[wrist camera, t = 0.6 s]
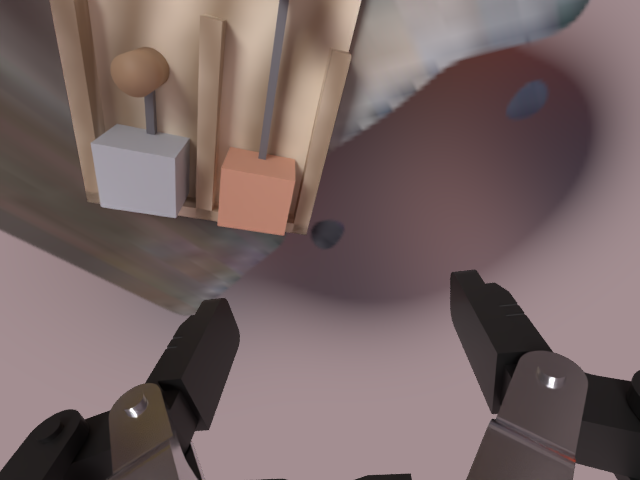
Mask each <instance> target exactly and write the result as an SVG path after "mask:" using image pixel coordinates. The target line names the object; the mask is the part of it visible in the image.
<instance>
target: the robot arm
mask: <svg viewBox="0 0 640 480" xmlns="http://www.w3.org/2000/svg"><path fill="white" fill-rule="evenodd" d="M450 289H451V290H450V292H451V293H450V294H451V295H450V307H451V308H450V309H451V317H452V321H453V324H454V327H455V329H456V332H457V334H458V336H459V339H460V341H461V343H462V346H463V348H464V350H465V353H466V355H467V357H468V360H469V362H470V364H471V367H472V369H473V371H474V374H475V376H476V378H477V381H478V383H479V385H480V388H481V390H482V392H483V395H484V397H485V399H486V402H487V404H488V406H489V408H490V411H491V413H492V414H498V415H497V417H496V419H495V420H494V419H492V420H491V421H490V423H489V425H488V427H487V430H486V432H485V435H484V437H483V439H482V442H481V444H480V447H479V450H478V452H477V454H476V457H475V459H474V462H473V464H472V467H471V469H470V472H469V475H468V477H467V479H466V480H573V474H574V469H575V463H578V464H582V465H585V466H589V467H593V468H597V469H600V470H604V471H608V472H612V473H614V474H615V476H616V478H617V479H618V480H640V370H639V371H638V372H636V373H635V374H634V376H633V378H632V381H625V380H619V379H614V378H608V377H602V376H596V375H591V374H588V373H585V372H583V370H582V369H581V368H580V367H579V366H578V365H577V364H576V363H574V362H573V361H571V360H570V359H568V358H566V357H564V356H562V355H560V354H557V353H553V351H552V350H551V349H550V347H549V346H548V345H547V343H546V342H545V340H544V339H543V338H542V336H541V335H540V334H539V332H538V331H537V329H536V328H535V327H534V326H533V324H532V323H531V321H530V320H529V318H528V317H527V316H526V315H525V314H524V312H523V310H522V309H521V308H520V306H519V305H517V302H516V301H515V299H514V298H513V297H512V295H511V294H510V293H509V291H507V290H505V289H504V288H502V287H501V286H499V285H498V284H496V283H488V284H485V283H484V281H483V280H482V278H481V277H480V275H479V274H478V272H477V271H476V270H467V271H458V272H452V273H451V278H450ZM239 342H240V334H239V329H238V327H237V324H236V321H235V319H234V316H233V313H232V311H231V308H230V306H229V303H228V301H227V300H226V299H225V298H219V299H211V300H204V301H203V302H202V303H201V305H200V307H199V308H198V310H197V312H196V314H195V315H191V316H190V317H189V318H188V319H187V320H186V321H185V322H183V323H182V324H181V325H180V327H179V328H178V330H177V331H176V333H175V335H174V336H173V339H172V340H171V341H170V343H169V345H168V346H167V349H166V350H165V352H164V353H163V355H162V356H161V358H160V360H159V361H158V363H157V364H156V366H155V368H154V369H153V371H152V373H151V374H150V376H149V378H148V379H147V381H146V383H145V384H141V385H138V386H136V387H134V388H132V389H130V390H129V391H127V392H126V393H125V394H123V395H122V396H121V397H120V398H119V399H118V400H117V401H116V403H115V404H114V405H113V407H112V409H111V410H110V411H107V412H105V413H102V414H99V415H96V416H93V417H91V418H88V419H85V420H84V418H83V417H82V416H81V415H80V413H79V412H78V411H76V410H64V411H61V412H59V413H56V414H54V415H53V416H51V417H50V418H48V419H46V420H45V421H43V422H42V423H41V424H40V425H38V426H37V427H36V428H35V429H34V430H33V431H32V432H31V433H30V434H29V436H28V437H27V438H26V439H25V441H24V442H23V443H22V445H21V446H20V447H19V448H18V450H17V451H16V452H15V453H14V455H13V456H12V457H11V459H10V460H9V461H8V462H7V464H6V465H5V466H4V467H3V469H2V470H1V472H0V480H205V478H204V475H203V472H202V469H201V466H200V463H199V460H198V457H197V454H196V451H195V448H194V445H193V443H192V441H191V439H192V437H193V434H194V432H195V431H200V430H201V431H202V430H209V428H210V425H211V423H212V420H213V416H214V414H215V411H216V409H217V406H218V403H219V400H220V397H221V394H222V392H223V389H224V386H225V383H226V380H227V378H228V375H229V372H230V369H231V366H232V363H233V361H234V357H235V355H236V352H237V350H238V347H239ZM263 480H286V479H263ZM356 480H412V479H411V474H390V475H367V476H364V477H362V478H358V479H356Z"/></svg>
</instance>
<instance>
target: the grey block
mask: <svg viewBox="0 0 640 480" xmlns="http://www.w3.org/2000/svg"><path fill="white" fill-rule="evenodd" d="M169 74H170V71H169V65H168V63H167V61H166V59H165V58H164V56H163V55H162V54H161V53H160V52H158V51H157V50H155V49H153V48H150V47H141V48H138V49H135V50H132V51H129V52H126V53H123V54H120V55H118V56H116V57H115V58H114V59H113V61H112V63H111V75H112V78H113V80H114V82H115V84H116V85H117V87H118V88H119V89H120V90H121V91H123V92H124V93H125V94H127V95H129V96H132V97H137V98H140V97H144V102H145V117H146V129H141V128H136V127H131V126H126V125H121V124H116V125H115V126H113V127H112V128H111V129H109V130H108V131H106V132H105V133H104V134H102V135H101V136H100V137H98V138H97V139H95V140H94V141H93V142H91V149H92V155H93V161H94V167H95V173H96V179H97V185H98V191H99V197H100V203H101V207H105V208H111V209H118V210H125V211H131V212H138V213H145V214H151V215H158V216H164V217H171V218H176V217H177V215H178V213H179V212H180V210H181V208H182V206H183V204H184V202H185V200H186V198H187V196H188V194H189V172H190V138H187V137H182V136H177V135H172V134H167V133H162V132H157V116H156V95H155V90H156V89H157V88H159V87H160V86H162V85H163V84H165V83H166V82H167V80H168V78H169Z"/></svg>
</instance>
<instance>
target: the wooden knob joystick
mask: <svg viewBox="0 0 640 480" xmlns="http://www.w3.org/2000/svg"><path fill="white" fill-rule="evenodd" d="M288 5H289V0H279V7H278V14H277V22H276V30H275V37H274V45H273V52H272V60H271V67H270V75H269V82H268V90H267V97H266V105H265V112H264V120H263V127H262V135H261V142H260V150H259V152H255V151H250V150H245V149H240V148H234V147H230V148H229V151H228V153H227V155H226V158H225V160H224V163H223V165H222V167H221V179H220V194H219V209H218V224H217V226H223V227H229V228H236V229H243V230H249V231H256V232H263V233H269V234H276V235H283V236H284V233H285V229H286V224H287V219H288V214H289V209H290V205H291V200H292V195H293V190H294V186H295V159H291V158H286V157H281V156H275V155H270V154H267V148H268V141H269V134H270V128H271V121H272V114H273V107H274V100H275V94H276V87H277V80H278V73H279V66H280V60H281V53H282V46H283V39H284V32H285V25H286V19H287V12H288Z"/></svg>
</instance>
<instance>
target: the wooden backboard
mask: <svg viewBox="0 0 640 480" xmlns="http://www.w3.org/2000/svg"><path fill="white" fill-rule="evenodd" d="M360 4H361V0H289V5H288V12H287V19H286V25H285V32H284V39H283V46H282V53H281V60H280V66H279V73H278V80H277V87H276V94H275V100H274V107H273V114H272V121H271V128H270V134H269V141H268V148H267V154H270V155H275V156H281V157H286V158H291V159H295V186H294V190H293V195H292V200H291V205H290V209H289V214H288V219H287V224H286V229H285V232H290V233H297V234H303V235H306V233H307V230H308V226H309V222H310V218H311V214H312V210H313V206H314V202H315V198H316V194H317V191H318V186H319V183H320V178H321V174H322V171H323V167H324V163H325V159H326V155H327V151H328V147H329V143H330V139H331V136H332V132H333V128H334V124H335V120H336V116H337V112H338V108H339V104H340V100H341V96H342V92H343V88H344V85H345V81H346V77H347V73H348V69H349V65H350V61H351V57H352V55H351V54H350V53H349V48H350V44H351V40H352V36H353V32H354V28H355V24H356V20H357V16H358V12H359V8H360ZM50 6H51V11H52V16H53V22H54V27H55V32H56V37H57V43H58V48H59V53H60V59H61V64H62V69H63V74H64V80H65V85H66V90H67V95H68V101H69V106H70V111H71V117H72V122H73V127H74V132H75V138H76V143H77V148H78V153H79V159H80V164H81V169H82V175H83V180H84V185H85V190H86V196H87V201H88V202H93V203H100V197H99V191H98V185H97V179H96V173H95V167H94V161H93V155H92V149H91V142H93V141H94V140H95V139H97V138H98V137H100V136H101V135H102V134H104V133H105V132H106V131H108V130H109V129H111V128H112V127H113V126H115V125H116V124H121V125H126V126H131V127H136V128H141V129H146V117H145V102H144V97H140V98H137V97H132V96H129V95H127V94H125V93H124V92H123V91H121V90H120V89H119V88H118V87H117V85H116V84H115V82H114V80H113V78H112V75H111V63H112V61H113V59H114V58H115V57H116V56H118V55H120V54H123V53H126V52H129V51H132V50H135V49H138V48H141V47H150V48H153V49H155V50H157V51H158V52H160V53H161V54H162V55H163V56H164V58H165V59H166V61H167V63H168V65H169V71H170V74H169V78H168V80H167V82H166V83H165V84H163V85H162V86H160V87H159V88H157V89H156V90H155V95H156V116H157V132H162V133H167V134H172V135H177V136H182V137H187V138H190V172H189V194H188V196H187V198H186V200H185V202H184V204H183V206H182V208H181V210H180V212H179V213H178V216H185V217H191V218H198V219H205V220H211V221H218V209H219V194H220V179H221V167H222V165H223V163H224V160H225V158H226V155H227V153H228V151H229V148H230V147H234V148H240V149H245V150H250V151H255V152H259V150H260V142H261V135H262V127H263V120H264V112H265V105H266V97H267V90H268V82H269V75H270V67H271V60H272V52H273V45H274V37H275V30H276V22H277V14H278V7H279V0H50ZM100 204H101V203H100Z"/></svg>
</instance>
